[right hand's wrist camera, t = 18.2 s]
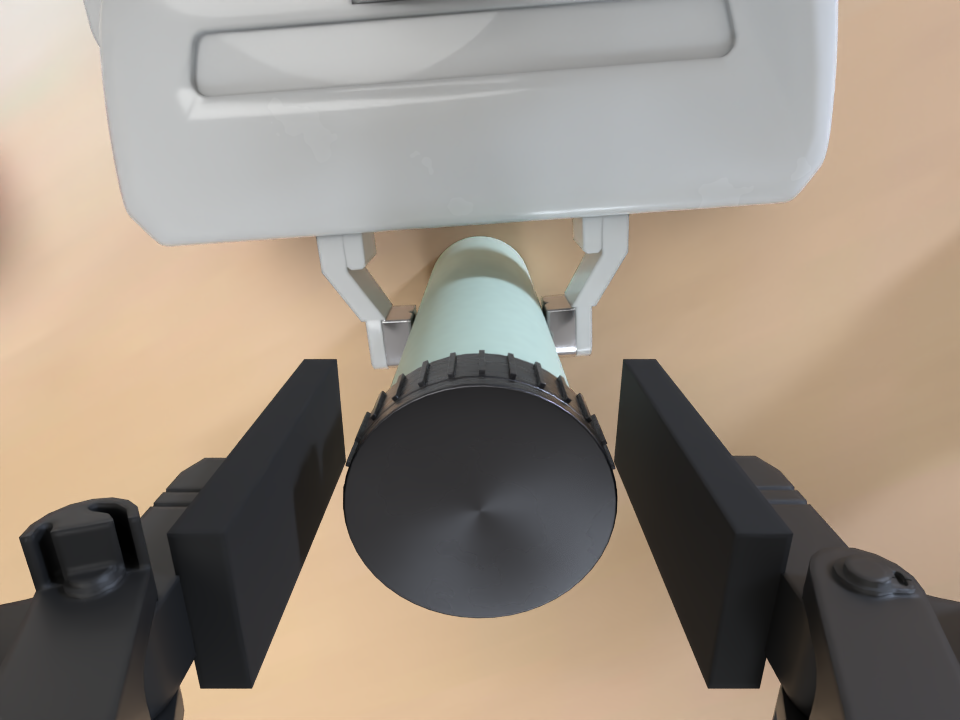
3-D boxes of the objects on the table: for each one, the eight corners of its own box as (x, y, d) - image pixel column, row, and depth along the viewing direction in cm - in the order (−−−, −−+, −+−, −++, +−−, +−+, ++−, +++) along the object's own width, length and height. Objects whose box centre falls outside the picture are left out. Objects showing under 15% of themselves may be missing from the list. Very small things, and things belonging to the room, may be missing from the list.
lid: (332, 536, 13) (313, 588, 11) (386, 317, 11) (372, 344, 9) (557, 589, 13) (567, 646, 12) (642, 387, 11) (666, 424, 10)
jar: (485, 214, 25) (494, 332, 10) (550, 291, 27) (646, 502, 11) (409, 281, 26) (311, 480, 11) (475, 352, 28) (468, 622, 12)
